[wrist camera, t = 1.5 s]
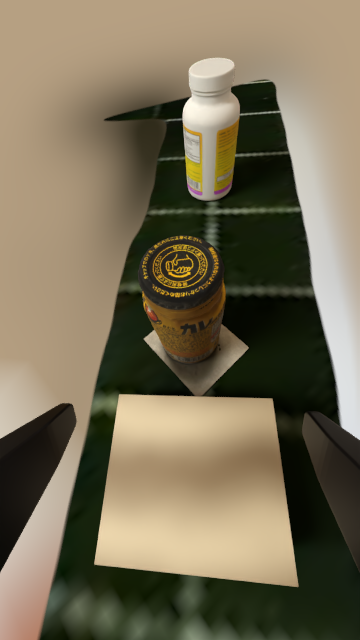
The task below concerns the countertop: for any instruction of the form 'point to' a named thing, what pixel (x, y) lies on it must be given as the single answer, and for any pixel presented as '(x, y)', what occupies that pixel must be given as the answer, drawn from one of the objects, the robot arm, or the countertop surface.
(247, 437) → the wooden block
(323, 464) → the robot arm
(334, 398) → the countertop surface
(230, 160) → the supplement bottle
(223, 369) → the condiment
